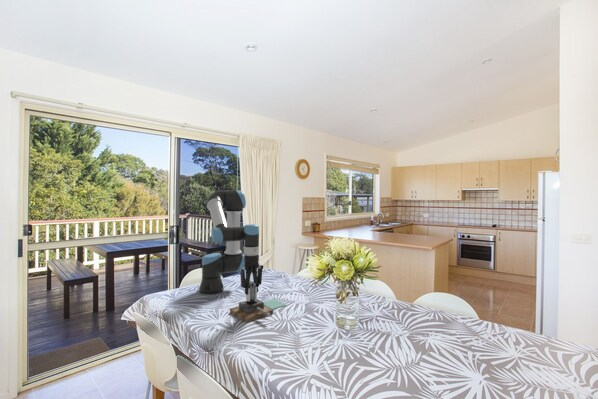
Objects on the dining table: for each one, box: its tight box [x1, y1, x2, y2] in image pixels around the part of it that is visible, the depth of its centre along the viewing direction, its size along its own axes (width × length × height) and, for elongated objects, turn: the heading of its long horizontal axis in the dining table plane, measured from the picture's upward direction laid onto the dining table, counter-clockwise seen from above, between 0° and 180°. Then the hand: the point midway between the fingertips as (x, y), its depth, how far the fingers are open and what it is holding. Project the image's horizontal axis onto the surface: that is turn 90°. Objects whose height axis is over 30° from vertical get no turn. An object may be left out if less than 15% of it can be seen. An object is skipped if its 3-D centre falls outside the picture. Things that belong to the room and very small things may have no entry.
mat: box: [263, 298, 287, 311], centre depth 166 cm, size 12×10×1 cm
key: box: [248, 280, 256, 305], centre depth 154 cm, size 6×3×13 cm, turn 40°
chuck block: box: [229, 298, 274, 323], centre depth 151 cm, size 24×16×6 cm, turn 40°
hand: (251, 299), depth 154 cm, fingers closed on key, 3 cm apart
